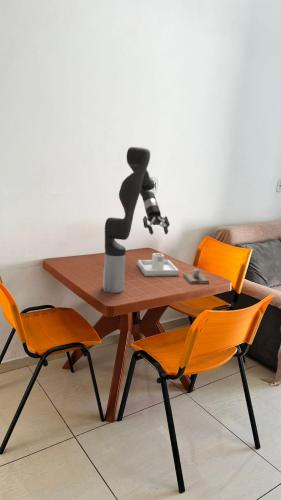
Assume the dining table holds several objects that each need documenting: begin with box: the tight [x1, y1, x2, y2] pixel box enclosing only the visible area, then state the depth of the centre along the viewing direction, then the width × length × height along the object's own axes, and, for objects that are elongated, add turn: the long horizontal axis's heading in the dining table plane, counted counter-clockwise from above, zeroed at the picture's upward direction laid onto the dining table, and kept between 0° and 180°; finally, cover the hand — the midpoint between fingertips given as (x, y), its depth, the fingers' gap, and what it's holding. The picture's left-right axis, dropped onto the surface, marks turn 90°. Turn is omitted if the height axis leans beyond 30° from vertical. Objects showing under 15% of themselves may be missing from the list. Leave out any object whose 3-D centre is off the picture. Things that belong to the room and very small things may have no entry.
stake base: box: [182, 268, 210, 285], centre depth 194 cm, size 10×10×6 cm
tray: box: [137, 259, 180, 277], centre depth 206 cm, size 18×18×3 cm
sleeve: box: [151, 252, 165, 270], centre depth 204 cm, size 5×6×8 cm
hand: (159, 233), depth 202 cm, fingers open, 8 cm apart
